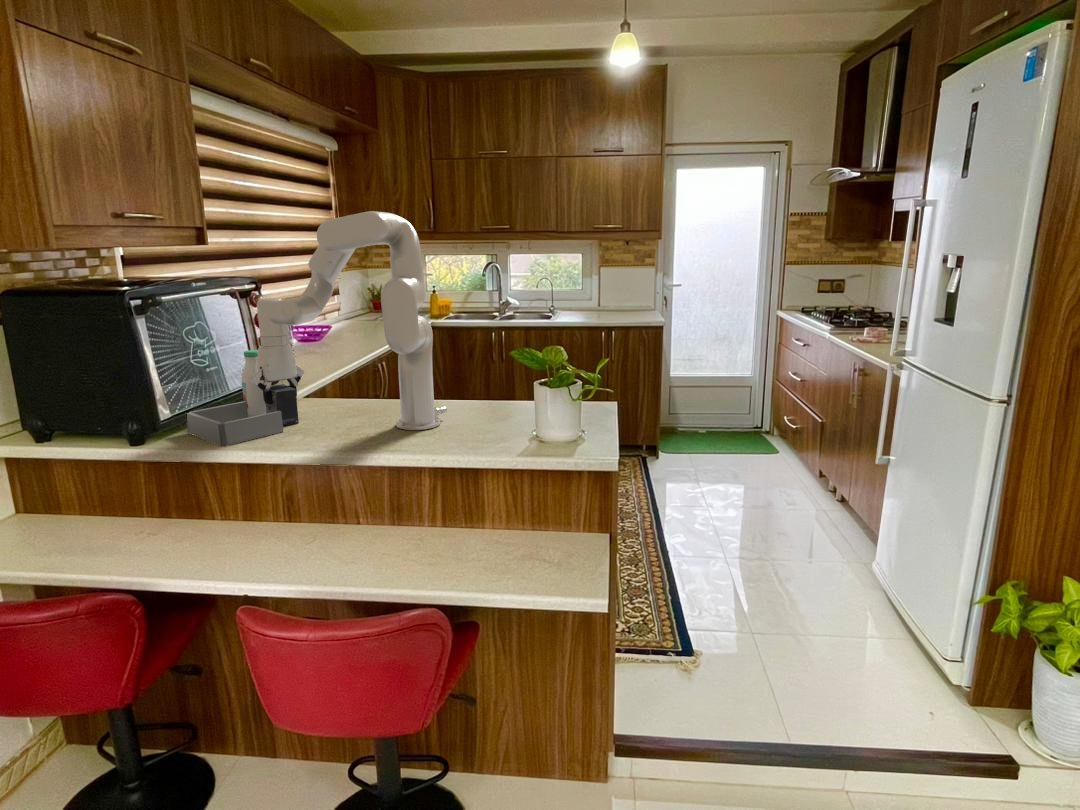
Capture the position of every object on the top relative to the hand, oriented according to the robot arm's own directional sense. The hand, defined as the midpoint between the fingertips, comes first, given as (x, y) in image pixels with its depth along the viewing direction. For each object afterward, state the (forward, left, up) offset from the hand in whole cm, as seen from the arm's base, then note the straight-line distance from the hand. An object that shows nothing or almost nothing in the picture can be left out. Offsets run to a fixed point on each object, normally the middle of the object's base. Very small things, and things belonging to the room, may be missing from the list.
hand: (281, 401), depth 197 cm
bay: (+14, 0, -6) cm, 15 cm away
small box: (0, 0, -7) cm, 7 cm away
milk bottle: (0, -14, -7) cm, 15 cm away
